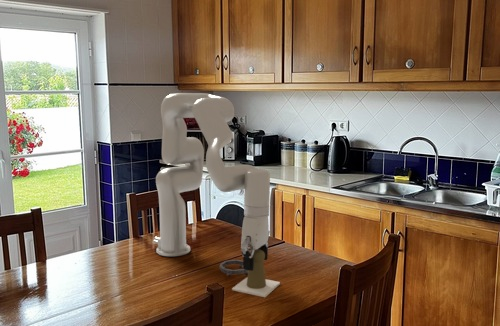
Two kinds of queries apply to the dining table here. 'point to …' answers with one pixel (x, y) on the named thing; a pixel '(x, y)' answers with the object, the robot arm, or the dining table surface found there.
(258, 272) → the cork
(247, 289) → the plate
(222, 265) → the ring stand
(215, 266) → the dining table surface
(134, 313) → the dining table surface
